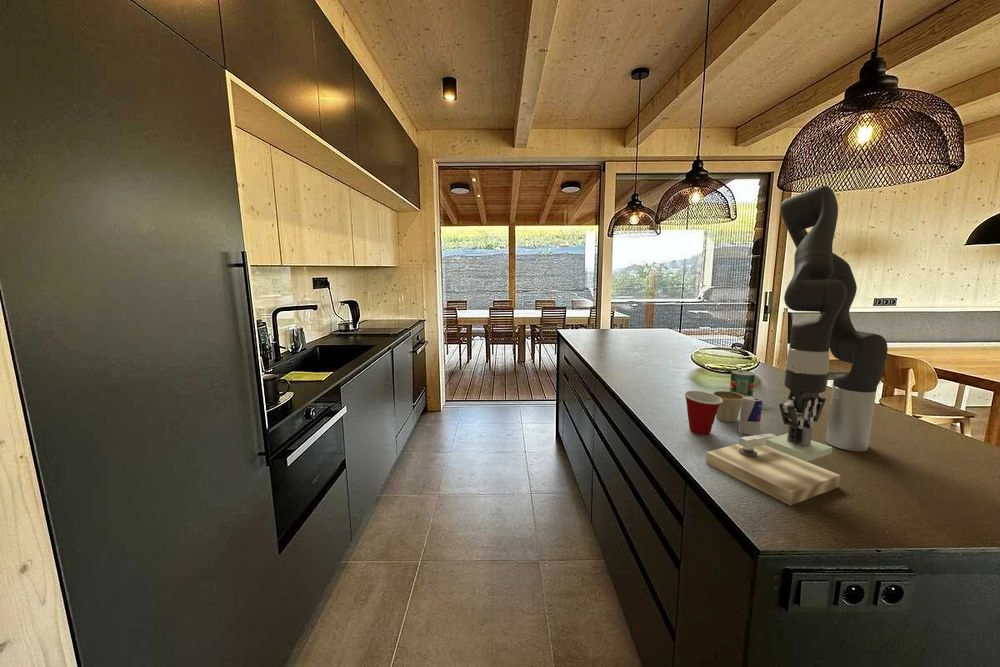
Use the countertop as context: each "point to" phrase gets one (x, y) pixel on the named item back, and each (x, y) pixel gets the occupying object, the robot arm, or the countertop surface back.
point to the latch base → (774, 472)
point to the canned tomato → (742, 382)
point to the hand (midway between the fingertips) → (798, 440)
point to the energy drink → (750, 416)
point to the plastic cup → (701, 411)
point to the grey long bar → (754, 441)
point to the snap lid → (800, 446)
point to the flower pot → (728, 406)
